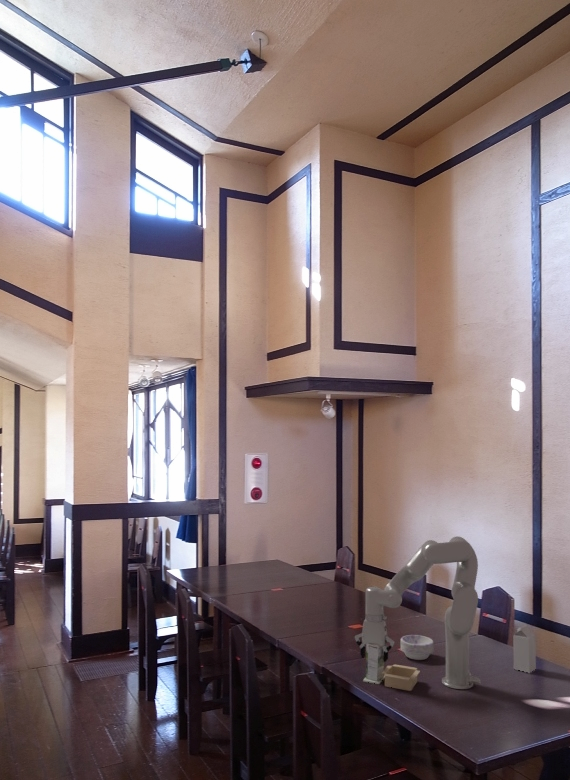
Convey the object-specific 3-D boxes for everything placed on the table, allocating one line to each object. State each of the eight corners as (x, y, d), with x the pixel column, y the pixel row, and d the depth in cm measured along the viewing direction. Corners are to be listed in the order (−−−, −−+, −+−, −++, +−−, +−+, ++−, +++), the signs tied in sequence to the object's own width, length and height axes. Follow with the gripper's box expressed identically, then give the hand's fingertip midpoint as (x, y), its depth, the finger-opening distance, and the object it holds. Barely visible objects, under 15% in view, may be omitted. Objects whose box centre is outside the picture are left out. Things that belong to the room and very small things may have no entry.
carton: (421, 681, 266) (421, 668, 266) (413, 693, 252) (413, 680, 253) (389, 675, 272) (389, 663, 272) (379, 687, 258) (379, 674, 259)
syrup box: (372, 674, 271) (372, 639, 272) (384, 677, 267) (384, 642, 268) (365, 678, 266) (365, 642, 267) (377, 681, 263) (378, 645, 264)
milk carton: (536, 669, 281) (535, 625, 283) (529, 673, 276) (528, 629, 278) (520, 665, 286) (519, 622, 288) (513, 669, 281) (513, 625, 282)
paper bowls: (420, 664, 285) (420, 646, 286) (393, 656, 297) (393, 638, 298) (440, 657, 295) (440, 640, 296) (413, 649, 307) (413, 632, 308)
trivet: (385, 677, 269) (385, 675, 269) (379, 684, 261) (379, 682, 261) (369, 674, 272) (369, 673, 272) (363, 681, 264) (363, 680, 264)
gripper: (396, 618, 269) (396, 659, 267) (357, 612, 276) (357, 653, 274) (391, 622, 262) (391, 665, 260) (352, 617, 269) (351, 658, 268)
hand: (374, 659), depth 267 cm, fingers open, 9 cm apart
